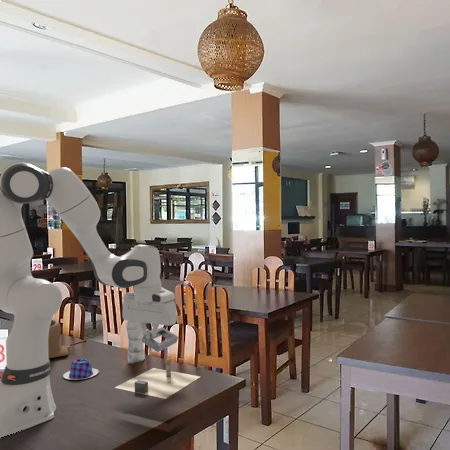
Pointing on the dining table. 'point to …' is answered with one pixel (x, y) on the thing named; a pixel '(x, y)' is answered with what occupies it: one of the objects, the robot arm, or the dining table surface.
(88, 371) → the plaid fedora hat
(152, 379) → the board
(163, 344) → the steel link
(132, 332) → the plastic bottle
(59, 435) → the dining table surface
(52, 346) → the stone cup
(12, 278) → the robot arm
